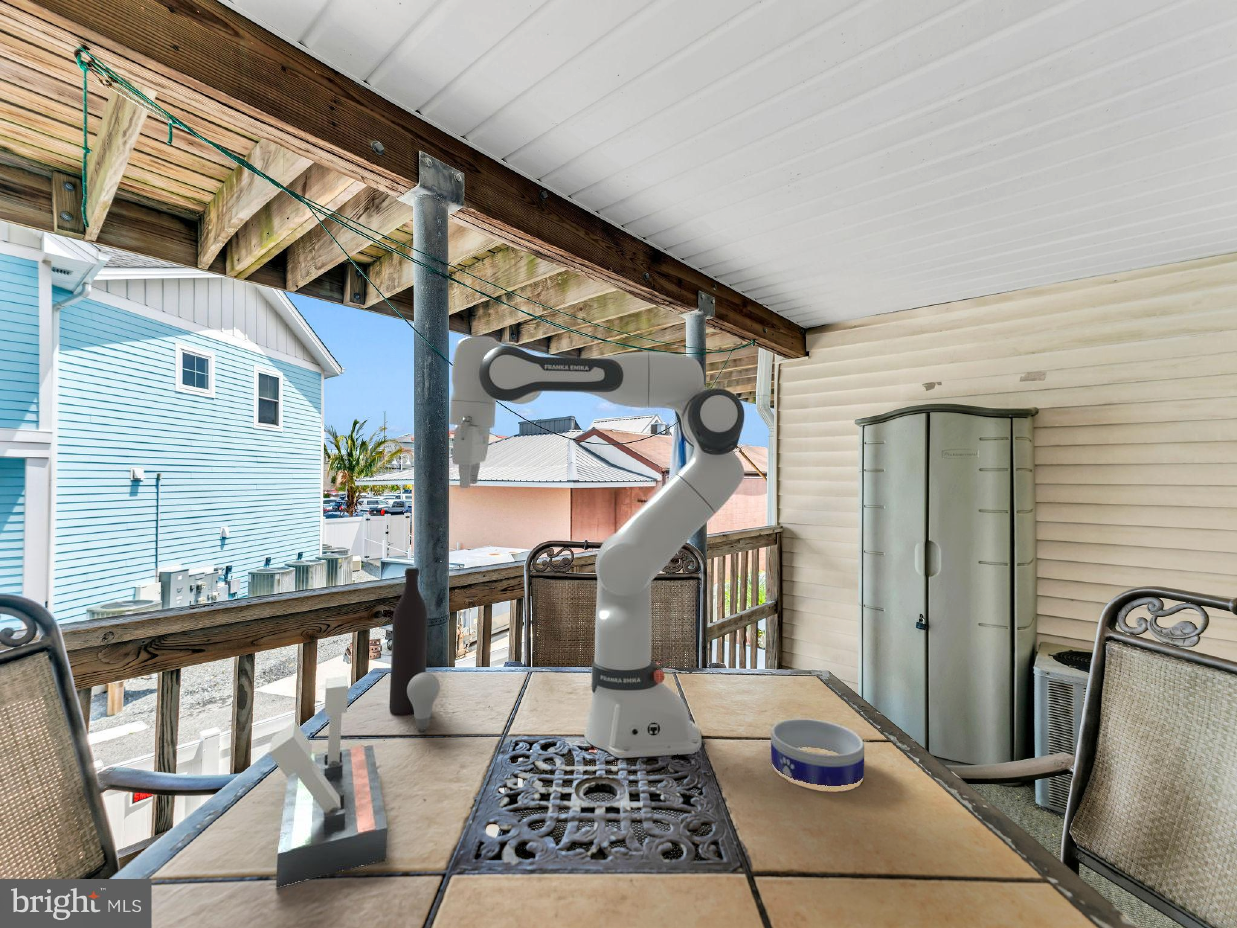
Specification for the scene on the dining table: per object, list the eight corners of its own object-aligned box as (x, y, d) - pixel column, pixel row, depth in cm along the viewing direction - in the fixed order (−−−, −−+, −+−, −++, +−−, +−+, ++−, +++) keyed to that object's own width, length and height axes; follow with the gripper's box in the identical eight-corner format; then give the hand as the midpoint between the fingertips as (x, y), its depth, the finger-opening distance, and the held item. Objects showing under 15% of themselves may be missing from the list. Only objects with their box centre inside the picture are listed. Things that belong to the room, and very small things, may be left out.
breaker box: (371, 769, 95) (373, 736, 95) (386, 860, 72) (387, 816, 72) (289, 784, 90) (290, 749, 90) (275, 888, 66) (278, 841, 67)
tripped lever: (343, 757, 90) (347, 675, 91) (344, 771, 86) (348, 685, 86) (322, 760, 89) (326, 678, 89) (322, 775, 84) (325, 688, 85)
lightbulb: (443, 724, 113) (445, 668, 114) (430, 737, 107) (432, 678, 108) (414, 722, 114) (416, 667, 115) (399, 735, 108) (401, 677, 109)
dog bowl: (754, 770, 98) (754, 734, 98) (794, 742, 109) (794, 710, 109) (843, 805, 87) (843, 765, 87) (877, 770, 98) (877, 735, 99)
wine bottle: (415, 700, 126) (420, 565, 127) (430, 709, 121) (435, 568, 122) (383, 708, 121) (389, 567, 122) (397, 718, 116) (403, 571, 117)
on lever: (347, 793, 78) (295, 721, 75) (348, 812, 73) (293, 736, 71) (326, 809, 76) (272, 737, 74) (326, 829, 72) (268, 753, 69)
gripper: (481, 416, 104) (477, 491, 104) (494, 420, 124) (491, 482, 125) (445, 414, 103) (442, 489, 104) (465, 418, 124) (461, 481, 124)
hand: (468, 485), depth 115 cm, fingers open, 8 cm apart
